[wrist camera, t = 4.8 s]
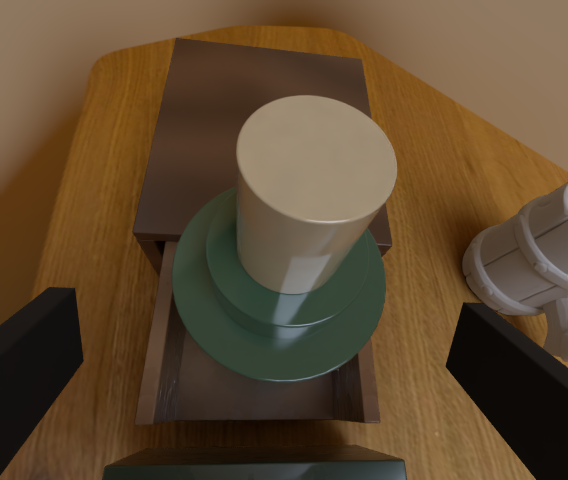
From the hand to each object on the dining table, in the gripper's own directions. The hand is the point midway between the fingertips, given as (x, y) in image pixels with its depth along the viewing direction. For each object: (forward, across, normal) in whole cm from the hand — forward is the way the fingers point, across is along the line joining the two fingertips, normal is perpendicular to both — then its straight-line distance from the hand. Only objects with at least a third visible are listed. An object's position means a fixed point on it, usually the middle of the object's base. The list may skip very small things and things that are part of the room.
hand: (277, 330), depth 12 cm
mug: (+13, +21, -5) cm, 25 cm away
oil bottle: (+9, 0, -7) cm, 11 cm away
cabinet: (+19, 0, 0) cm, 19 cm away
